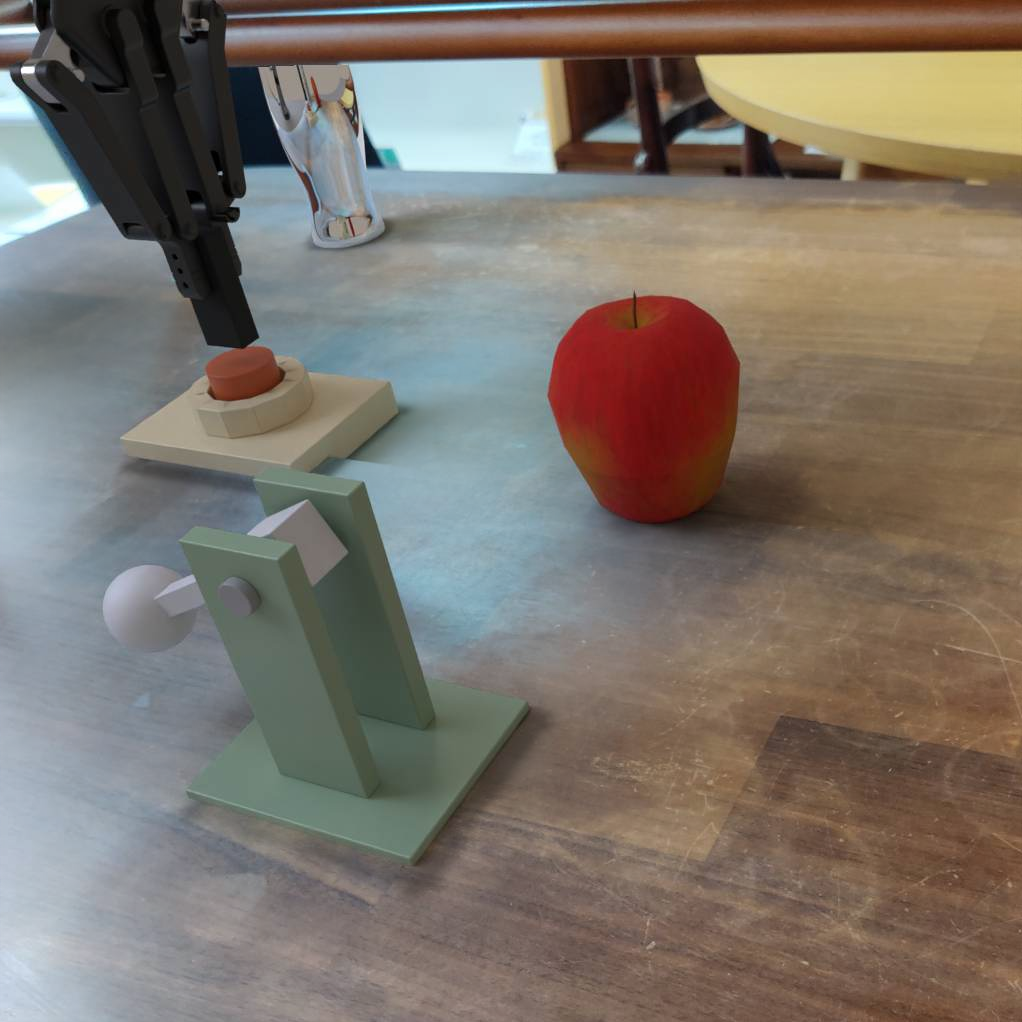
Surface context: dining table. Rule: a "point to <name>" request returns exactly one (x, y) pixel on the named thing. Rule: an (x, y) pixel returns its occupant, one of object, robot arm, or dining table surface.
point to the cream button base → (266, 423)
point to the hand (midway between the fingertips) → (233, 341)
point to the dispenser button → (243, 373)
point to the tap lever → (174, 600)
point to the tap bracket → (336, 685)
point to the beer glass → (325, 149)
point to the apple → (647, 404)
